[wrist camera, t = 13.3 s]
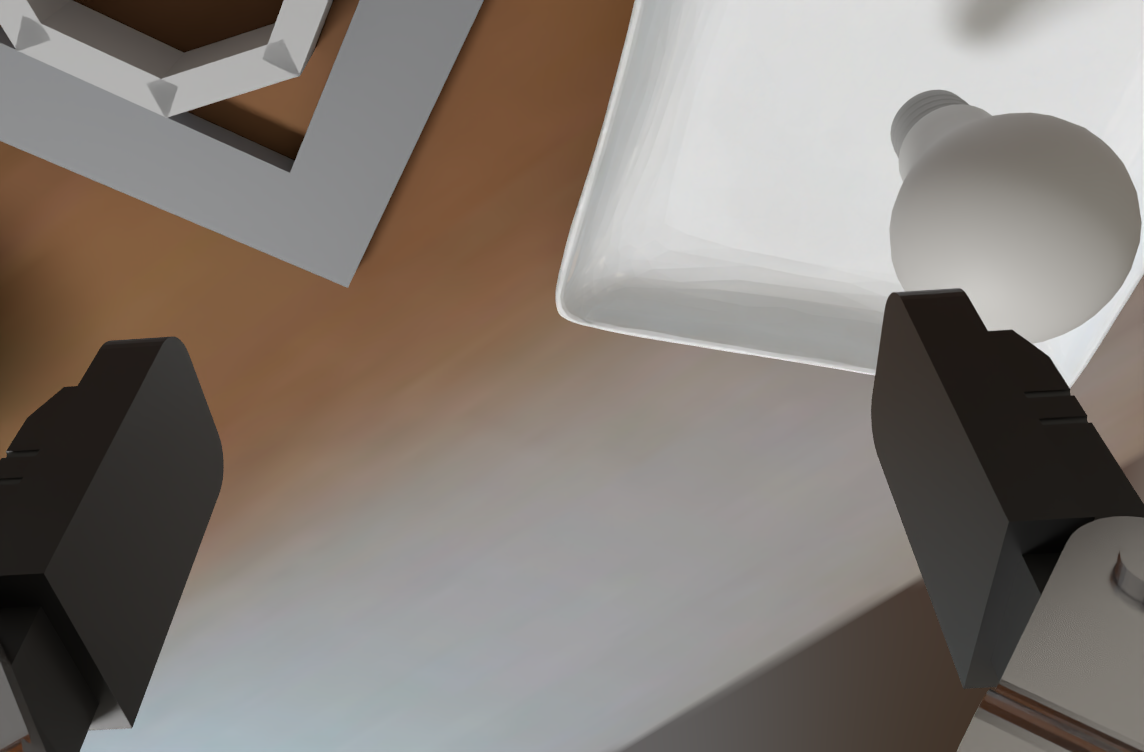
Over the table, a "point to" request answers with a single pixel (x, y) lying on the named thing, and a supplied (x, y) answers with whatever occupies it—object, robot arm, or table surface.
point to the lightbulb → (1011, 214)
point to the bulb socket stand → (220, 157)
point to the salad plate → (815, 160)
